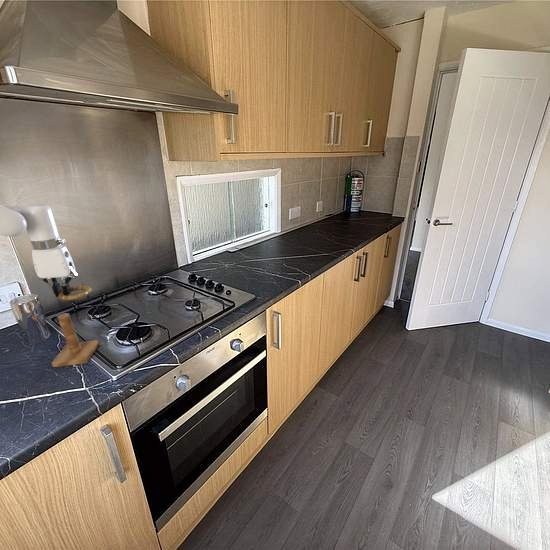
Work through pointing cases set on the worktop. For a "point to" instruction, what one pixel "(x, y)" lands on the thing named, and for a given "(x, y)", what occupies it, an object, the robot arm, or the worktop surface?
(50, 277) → the robot arm
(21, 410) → the worktop surface
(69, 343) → the stand
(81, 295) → the ring
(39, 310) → the beer glass
